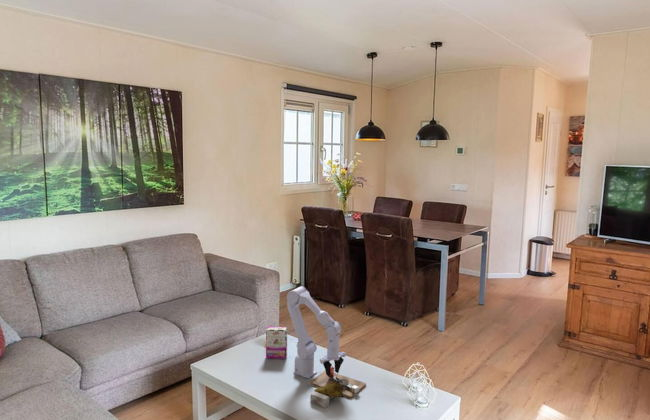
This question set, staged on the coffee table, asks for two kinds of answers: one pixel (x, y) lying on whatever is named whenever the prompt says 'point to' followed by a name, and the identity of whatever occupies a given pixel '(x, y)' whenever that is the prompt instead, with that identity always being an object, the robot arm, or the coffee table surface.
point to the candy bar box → (276, 342)
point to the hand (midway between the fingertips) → (332, 373)
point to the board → (324, 380)
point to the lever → (343, 382)
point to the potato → (331, 390)
